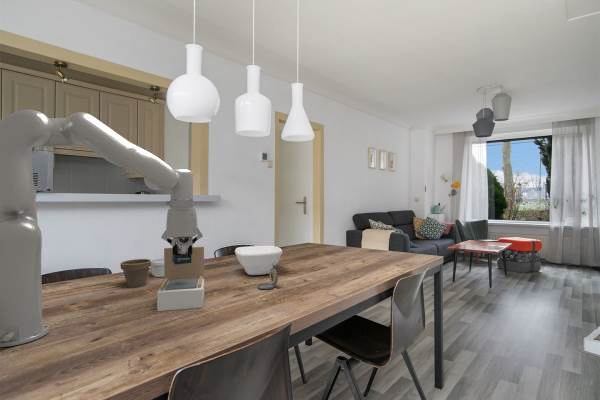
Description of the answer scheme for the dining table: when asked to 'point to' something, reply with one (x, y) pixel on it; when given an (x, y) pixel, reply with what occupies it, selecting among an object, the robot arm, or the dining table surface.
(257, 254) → the bowl
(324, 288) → the dining table surface
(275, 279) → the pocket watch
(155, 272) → the ramekin
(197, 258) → the open display box
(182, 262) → the watch
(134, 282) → the flower pot
